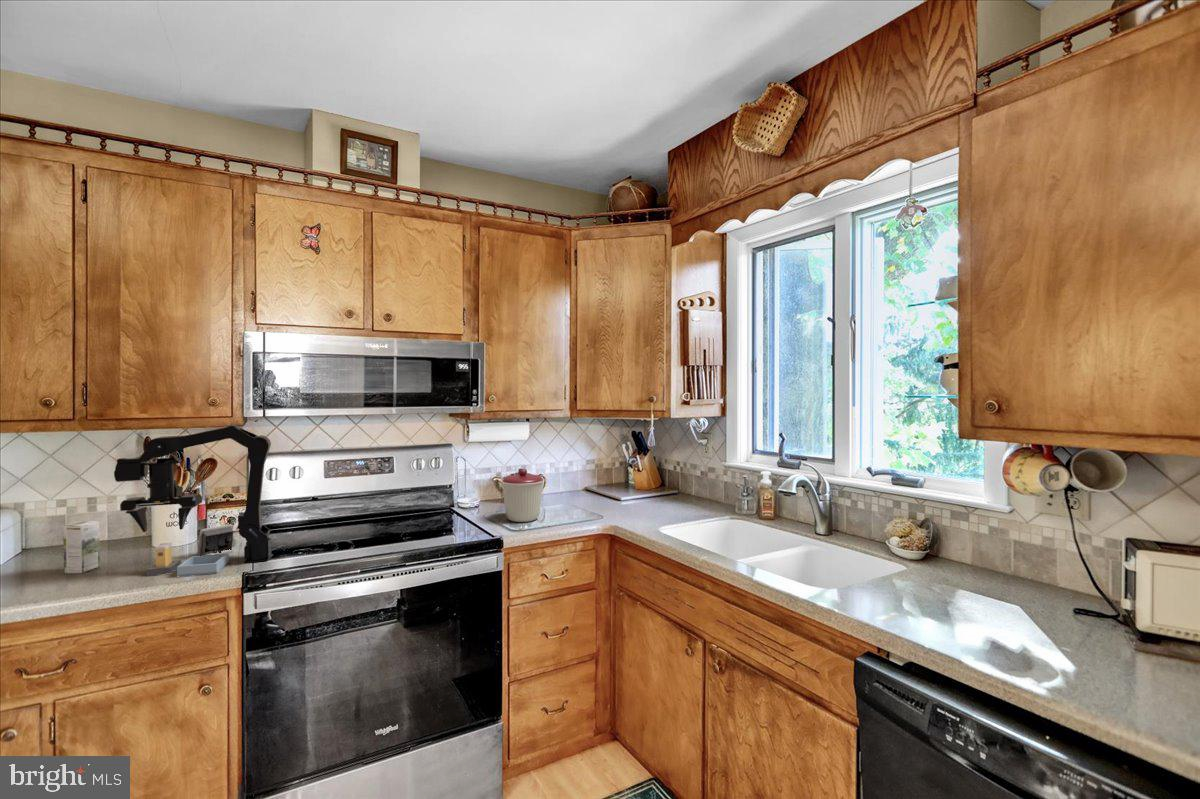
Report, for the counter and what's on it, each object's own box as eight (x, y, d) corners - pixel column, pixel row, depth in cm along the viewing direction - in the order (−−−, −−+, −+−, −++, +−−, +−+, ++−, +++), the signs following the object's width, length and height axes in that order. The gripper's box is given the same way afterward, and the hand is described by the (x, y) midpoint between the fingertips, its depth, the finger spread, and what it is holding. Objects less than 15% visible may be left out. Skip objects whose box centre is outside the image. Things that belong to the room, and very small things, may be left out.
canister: (492, 518, 226) (492, 468, 225) (528, 511, 238) (528, 464, 237) (516, 527, 212) (516, 473, 212) (553, 519, 224) (553, 468, 224)
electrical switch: (230, 548, 186) (230, 522, 185) (236, 553, 182) (236, 526, 182) (197, 555, 178) (197, 528, 178) (202, 560, 175) (202, 532, 174)
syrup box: (82, 567, 167) (80, 520, 167) (100, 567, 167) (99, 520, 167) (63, 573, 161) (61, 525, 161) (82, 573, 161) (81, 525, 161)
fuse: (172, 568, 166) (171, 542, 166) (165, 573, 162) (165, 546, 162) (162, 569, 165) (161, 543, 165) (155, 574, 161) (155, 547, 161)
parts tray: (229, 562, 171) (228, 553, 171) (216, 573, 161) (216, 563, 161) (191, 565, 168) (191, 556, 168) (177, 577, 159) (176, 566, 158)
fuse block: (181, 566, 168) (180, 560, 168) (170, 574, 161) (170, 567, 161) (157, 568, 166) (157, 561, 166) (146, 576, 159) (146, 569, 159)
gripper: (208, 472, 173) (210, 521, 174) (138, 476, 168) (140, 526, 168) (193, 478, 162) (195, 530, 163) (118, 482, 157) (120, 536, 158)
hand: (163, 530), depth 163 cm, fingers open, 9 cm apart
